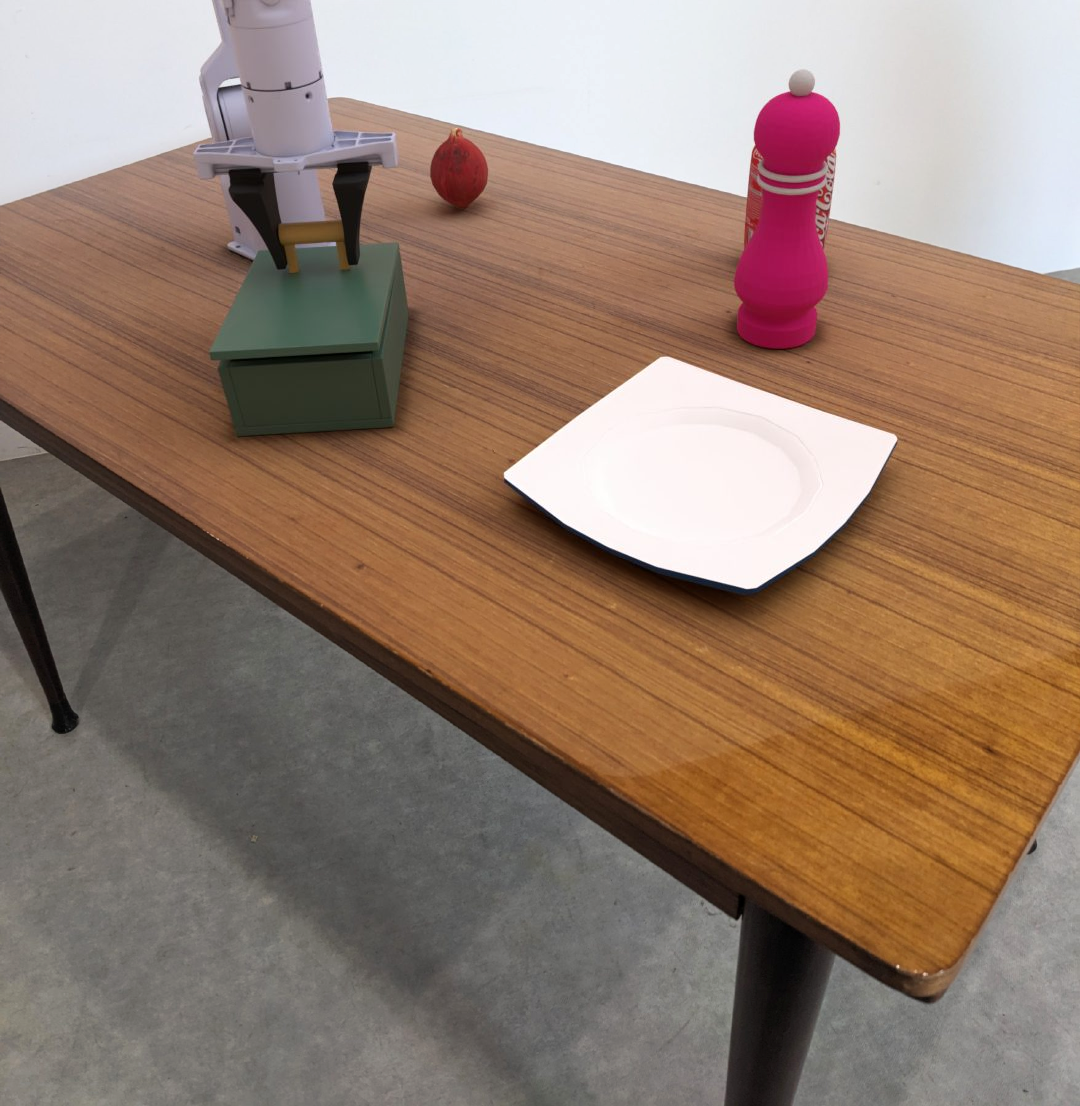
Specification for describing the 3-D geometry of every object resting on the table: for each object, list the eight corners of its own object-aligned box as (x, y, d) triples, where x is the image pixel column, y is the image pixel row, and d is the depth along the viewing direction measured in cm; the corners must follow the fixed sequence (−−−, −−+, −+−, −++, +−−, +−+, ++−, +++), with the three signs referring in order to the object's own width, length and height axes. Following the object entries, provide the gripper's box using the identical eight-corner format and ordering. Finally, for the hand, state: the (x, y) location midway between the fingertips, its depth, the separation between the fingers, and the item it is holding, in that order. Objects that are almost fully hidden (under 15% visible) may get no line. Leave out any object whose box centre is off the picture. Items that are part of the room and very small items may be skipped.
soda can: (817, 249, 96) (835, 114, 88) (826, 285, 91) (845, 144, 83) (739, 250, 97) (750, 116, 89) (743, 285, 91) (754, 145, 84)
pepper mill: (821, 355, 82) (858, 86, 69) (727, 350, 83) (747, 85, 70) (821, 311, 87) (856, 54, 74) (733, 307, 88) (752, 54, 75)
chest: (393, 427, 77) (382, 357, 73) (236, 436, 77) (216, 367, 73) (409, 314, 90) (399, 250, 87) (275, 322, 91) (260, 258, 87)
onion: (489, 218, 105) (482, 137, 100) (432, 221, 105) (422, 140, 100) (492, 196, 109) (486, 117, 104) (437, 198, 110) (428, 120, 105)
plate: (659, 377, 81) (660, 346, 79) (912, 467, 70) (920, 434, 68) (482, 510, 69) (479, 477, 67) (754, 642, 59) (759, 607, 57)
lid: (379, 350, 72) (369, 288, 69) (210, 361, 72) (194, 299, 69) (399, 249, 87) (392, 195, 84) (260, 258, 87) (247, 204, 84)
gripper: (165, 103, 70) (215, 290, 79) (380, 90, 70) (407, 279, 79) (188, 72, 76) (233, 250, 84) (389, 59, 75) (413, 239, 84)
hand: (318, 261), depth 82 cm, fingers closed on lid, 5 cm apart
